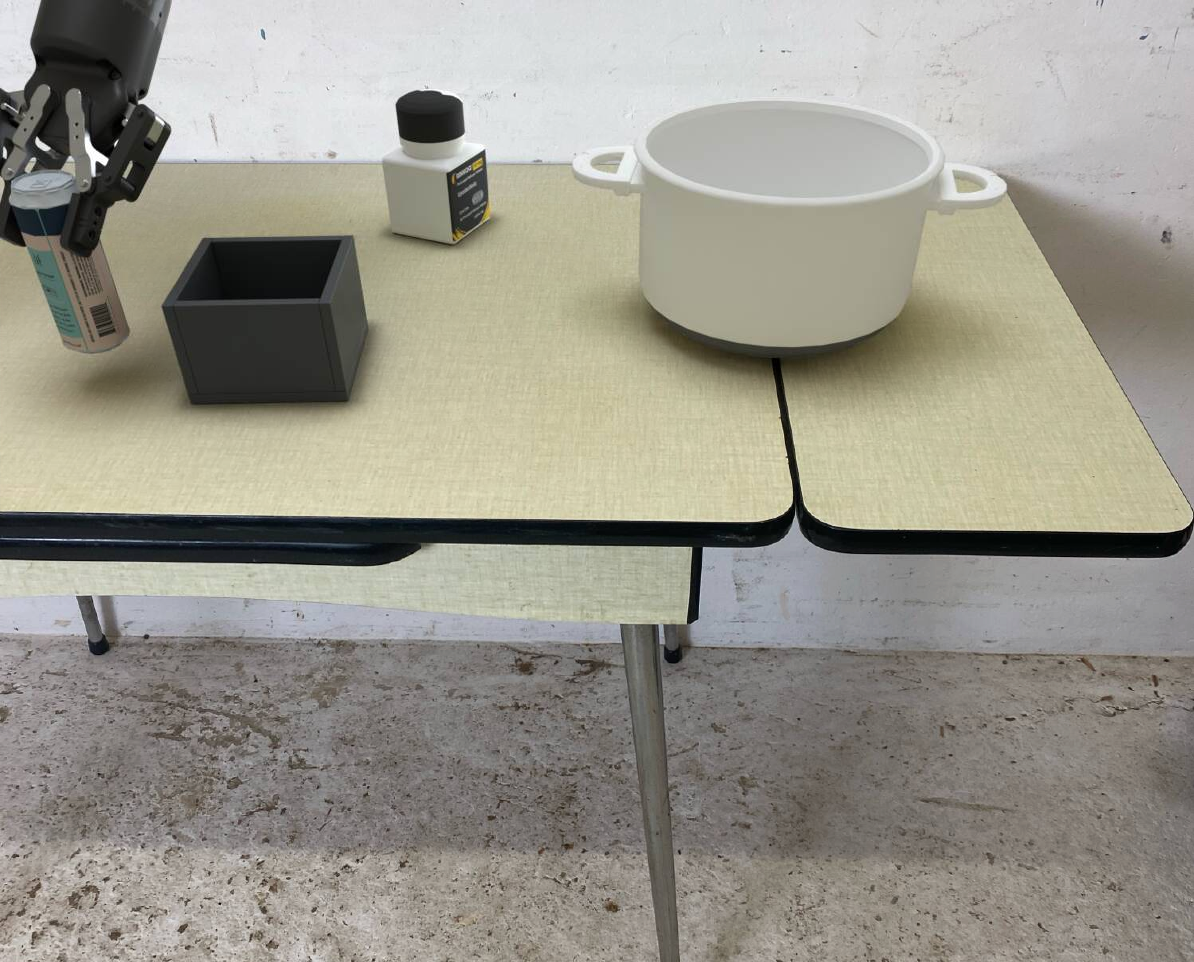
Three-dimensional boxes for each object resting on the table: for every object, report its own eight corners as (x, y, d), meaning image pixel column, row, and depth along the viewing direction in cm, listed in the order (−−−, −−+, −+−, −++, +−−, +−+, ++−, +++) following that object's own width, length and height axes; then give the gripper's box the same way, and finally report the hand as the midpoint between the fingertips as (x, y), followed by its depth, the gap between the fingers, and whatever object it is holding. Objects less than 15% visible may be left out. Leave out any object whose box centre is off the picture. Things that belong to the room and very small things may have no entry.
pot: (958, 264, 95) (996, 104, 85) (986, 397, 77) (1037, 215, 68) (597, 241, 99) (596, 86, 90) (548, 362, 82) (541, 186, 73)
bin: (190, 404, 77) (160, 305, 72) (226, 330, 86) (202, 237, 81) (348, 401, 77) (329, 302, 72) (368, 327, 86) (353, 234, 81)
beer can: (140, 326, 80) (89, 166, 72) (122, 357, 76) (66, 192, 68) (76, 328, 80) (18, 168, 72) (55, 359, 76) (-8, 194, 68)
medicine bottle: (454, 246, 98) (441, 111, 90) (390, 233, 100) (372, 100, 92) (491, 218, 103) (482, 88, 95) (429, 207, 105) (415, 79, 97)
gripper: (226, 51, 74) (164, 284, 73) (63, 34, 77) (3, 254, 77) (156, -19, 66) (87, 239, 66) (-20, -35, 70) (-87, 209, 70)
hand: (42, 246), depth 71 cm, fingers closed on beer can, 4 cm apart
